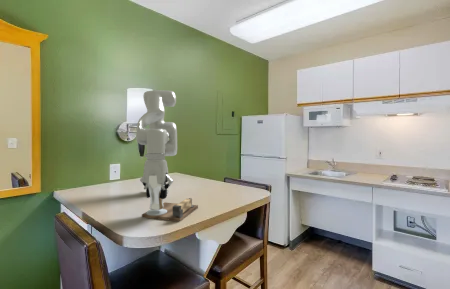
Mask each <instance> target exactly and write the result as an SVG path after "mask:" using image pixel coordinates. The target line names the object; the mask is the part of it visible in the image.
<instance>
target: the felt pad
mask: <svg viewBox="0 0 450 289" xmlns="http://www.w3.org/2000/svg"><path fill="white" fill-rule="evenodd" d="M145 213H146V214H147V215H151V216H157V215H163V214H165V213H167V210H166V209H161V210H150V209H149V210H147V211H146V212H145Z"/></svg>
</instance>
